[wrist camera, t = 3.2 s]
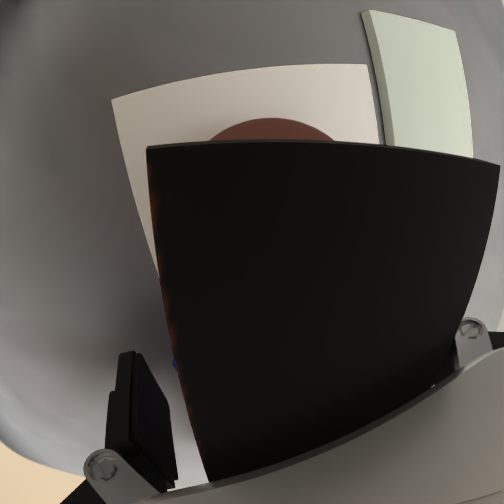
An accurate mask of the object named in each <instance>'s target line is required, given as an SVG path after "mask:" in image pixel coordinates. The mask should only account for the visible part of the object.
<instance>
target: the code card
mask: <svg viewBox="0 0 504 504" xmlns="http://www.w3.org/2000/svg"><path fill="white" fill-rule="evenodd" d="M111 101H112V106H113V111H114V116H115V121H116V126H117V130H118V135H119V139H120V144H121V148H122V152H123V157H124V161H125V165H126V169H127V173H128V177H129V180H130V184H131V188H132V192H133V195H134V199H135V202H136V206H137V209H138V213H139V216H140V220H141V223H142V226H143V230H144V233H145V236H146V239H147V242H148V246H149V249H150V252H151V255H152V258H153V261H154V264H155V267H156V270H157V273H158V276H159V272H158V266H157V259H156V252H155V244H154V236H153V228H152V219H151V210H150V200H149V189H148V177H147V164H146V148H147V146H151V145H161V144H171V143H183V142H197V141H209V140H210V139H211V138H213V137H214V136H215V135H217V134H218V133H220V132H221V131H223V130H225V129H227V128H229V127H231V126H233V125H236V124H238V123H242V122H245V121H248V120H253V119H259V118H283V119H290V120H295V121H298V122H302V123H305V124H307V125H309V126H312V127H314V128H316V129H318V130H320V131H322V132H323V133H325V134H326V135H328V136H329V137H331V138H332V139H333V140H334V141H345V142H359V143H371V144H379V138H378V130H377V122H376V115H375V108H374V102H373V96H372V90H371V84H370V79H369V74H368V69H367V65H365V64H306V65H287V66H274V67H264V68H254V69H246V70H238V71H231V72H225V73H218V74H212V75H207V76H201V77H196V78H191V79H186V80H182V81H177V82H173V83H168V84H164V85H160V86H156V87H152V88H149V89H145V90H141V91H138V92H134V93H131V94H127V95H124V96H121V97H118V98H114V99H111Z"/></svg>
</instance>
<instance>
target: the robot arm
mask: <svg viewBox="0 0 504 504" xmlns="http://www.w3.org/2000/svg"><path fill="white" fill-rule="evenodd" d="M433 385H435V386H433ZM432 386H433V387H432ZM432 386H431V388H430V389H428V390H427V391H425V392H424V393H422V394H421V395H419V396H417V397H416V398H414V399H413V400H411V401H409V402H408V403H406V404H404V405H403V406H401V407H399V408H397V409H396V410H394V411H392V412H390V413H389V414H387V415H385V416H383V417H381V418H379V419H378V420H376V421H374V422H372V423H370V424H368V425H366V426H364V427H362V428H360V429H358V430H356V431H354V432H352V433H350V434H348V435H346V436H343V437H341V438H339V439H337V440H335V441H332V442H330V443H328V444H326V445H323V446H321V447H318V448H316V449H314V450H311V451H309V452H306V453H303V454H301V455H298V456H296V457H293V458H290V459H287V460H285V461H282V462H279V463H276V464H273V465H270V466H267V467H264V468H261V469H257V470H254V471H251V472H247V473H244V474H240V475H237V476H233V477H229V478H226V479H222V480H218V481H214V482H210V483H205V484H201V485H196V486H192V487H187V488H183V489H178V490H174V491H169V492H167V489H172V488H175V483H174V480H178V472H177V466H176V459H175V452H174V444H173V437H172V428H171V419H170V410H169V404H168V402H167V399H166V398H165V396H164V394H163V392H162V391H161V389H160V387H159V385H158V384H157V382H156V380H155V378H154V377H153V375H152V373H151V371H150V369H149V367H148V365H147V364H146V362H145V360H144V358H143V356H142V354H141V353H138V354H137V353H136V352H135V351H130V352H125V353H121V354H120V355H119V361H118V369H117V377H116V386H115V391H111V392H110V394H109V401H108V411H107V422H106V436H105V449H100V450H97V451H95V452H93V453H92V454H91V455H90V456H89V457H88V458H87V459H86V461H85V463H84V468H83V470H84V475H85V477H86V479H85V480H84V481H83V482H82V483H81V484H80V485H79V486H78V487H77V488H76V489H75V490H74V491H73V492H72V493H71V494H70V495H69V496H68V497H67V498H65V499H64V500H63V501H62V502H61V503H60V504H504V332H488V331H487V328H486V326H485V324H484V323H483V322H481V321H480V320H478V319H475V318H472V317H465V318H463V319H462V321H461V324H460V326H459V329H458V331H457V334H456V336H455V338H454V341H453V343H452V345H451V347H450V350H449V352H448V354H447V356H446V358H445V360H444V362H443V364H442V367H441V369H440V371H439V373H438V375H437V376H436V378H435V380H434V382H433V384H432Z"/></svg>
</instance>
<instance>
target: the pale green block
mask: <svg viewBox="0 0 504 504" xmlns="http://www.w3.org/2000/svg"><path fill="white" fill-rule="evenodd" d="M361 15H362V19H363V22H364V26H365V30H366V34H367V38H368V42H369V46H370V51H371V55H372V60H373V65H374V69H375V75H376V80H377V85H378V91H379V97H380V103H381V110H382V117H383V124H384V132H385V141H386V145H391V146H399V147H408V148H415V149H422V150H429V151H436V152H442V153H448V154H454V155H459V156H465V157H470V158H473V146H472V131H471V120H470V110H469V102H468V95H467V88H466V82H465V76H464V70H463V65H462V60H461V55H460V51H459V47H458V43H457V38H456V35H455V31H452V30H449V29H446V28H443V27H440V26H436V25H433V24H430V23H426V22H423V21H419V20H415V19H411V18H407V17H403V16H399V15H394V14H390V13H385V12H380V11H374V10H367V11H365V12H363V13H361Z"/></svg>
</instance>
